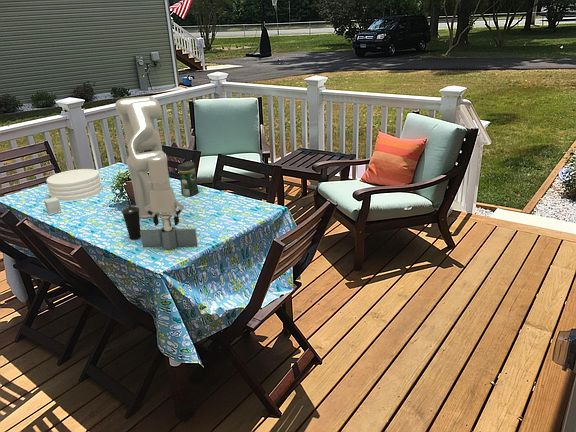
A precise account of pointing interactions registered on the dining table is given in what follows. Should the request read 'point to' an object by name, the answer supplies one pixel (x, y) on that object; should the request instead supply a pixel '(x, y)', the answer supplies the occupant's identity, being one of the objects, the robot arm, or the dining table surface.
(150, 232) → the hinge
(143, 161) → the robot arm
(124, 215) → the drinking cup
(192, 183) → the coffee jar
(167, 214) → the hinge pin
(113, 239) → the dining table surface
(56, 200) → the product box
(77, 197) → the plate stack
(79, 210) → the dining table surface
